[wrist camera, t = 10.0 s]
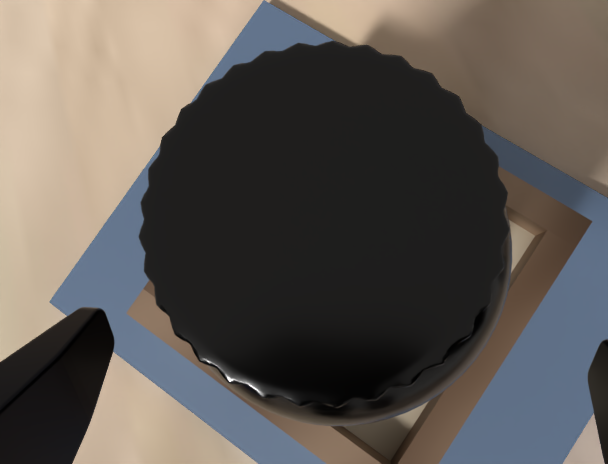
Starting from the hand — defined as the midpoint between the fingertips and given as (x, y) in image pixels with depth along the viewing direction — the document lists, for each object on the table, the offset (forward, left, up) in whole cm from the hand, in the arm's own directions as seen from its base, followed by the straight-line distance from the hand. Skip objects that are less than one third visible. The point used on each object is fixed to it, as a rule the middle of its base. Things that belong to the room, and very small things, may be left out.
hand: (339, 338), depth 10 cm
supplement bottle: (+1, -1, -9) cm, 9 cm away
